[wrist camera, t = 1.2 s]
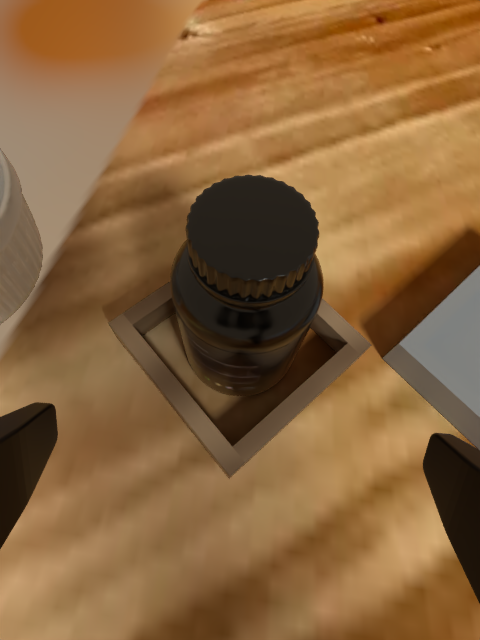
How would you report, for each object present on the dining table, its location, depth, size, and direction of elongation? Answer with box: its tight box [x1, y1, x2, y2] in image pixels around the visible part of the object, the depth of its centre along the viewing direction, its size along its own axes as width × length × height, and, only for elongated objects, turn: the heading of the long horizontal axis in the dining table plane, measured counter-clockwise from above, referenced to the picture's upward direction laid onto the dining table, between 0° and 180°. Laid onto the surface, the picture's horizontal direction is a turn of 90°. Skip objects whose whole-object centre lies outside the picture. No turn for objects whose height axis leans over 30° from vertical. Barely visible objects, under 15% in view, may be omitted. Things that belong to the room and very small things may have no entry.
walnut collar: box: [108, 282, 371, 479], centre depth 23 cm, size 11×11×2 cm
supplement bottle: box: [170, 175, 323, 396], centre depth 19 cm, size 7×7×12 cm
